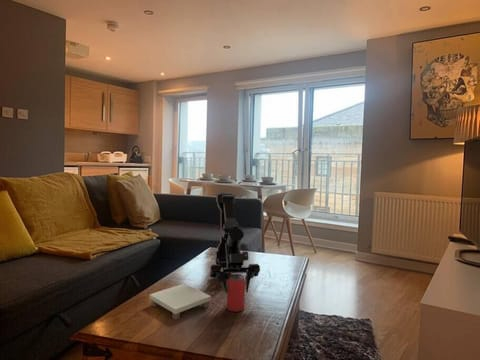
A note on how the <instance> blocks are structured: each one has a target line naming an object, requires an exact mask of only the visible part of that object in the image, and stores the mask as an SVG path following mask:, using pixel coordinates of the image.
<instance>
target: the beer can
mask: <svg viewBox="0 0 480 360" xmlns="http://www.w3.org/2000/svg"><path fill="white" fill-rule="evenodd" d="M232 274H233V275H230V276H229V277H228V280H227V284H226V286H227V293H226V309H227V310H229V312H241V311H243V310H244V308H245V300H246V297H245V296H246V286H245V276H244V275H242V274H241V273H232Z"/></svg>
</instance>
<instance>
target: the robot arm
mask: <svg viewBox="0 0 480 360" xmlns="http://www.w3.org/2000/svg"><path fill="white" fill-rule="evenodd" d="M215 200H216V201H215V202H216V204H217V205H216V206H217V207H218V209H219V211H220V242H219V244H218V246H217V247H216V250H215V255H214V263H215V264H211V265H210V268H209V277H210V279H211V278H212V279H213V278H214V279H215V280H218V282H219V283H220V285H221V287H222V288H223V291H224V293H225V294H227V282H226V279H227V278H229V276H230V275H233V274H245V276H244V279H245V294H246V293H248V292H249V287H250V282H251V279H254V277H258V276H259V274H260V272H261V266H260V265H259V264H258V263H249V264H248V266H246V267H243V266H244V263H245V261H246V262H247V261H249V251H242V253H241V246H242V242H243V241H244V236H245V234H244V231H243V230H242V229H241V228H240V224H239V222H238V221H237V220H236V216H235V209H234V204H235V203H236V195H234V194H233V193H232V192H218V194H216V196H215Z"/></svg>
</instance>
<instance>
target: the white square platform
mask: <svg viewBox="0 0 480 360" xmlns="http://www.w3.org/2000/svg"><path fill="white" fill-rule="evenodd" d="M148 297H149V299H148V300H151V306H152V307H154V308H155V307H157V306H158V307H159V306H161V307H162V308H165V310H168V311H170V312H171V313H172V315H171V318H172V319H174V320H179V319H180V318H181V317H180V315H181V313H182V312H185V311H187V310H190V309H192V308H195V307H197V306H201V307H202V308H204V309H206V308H208V307H209V302H210V301H212V296H211V295H209V294H207V293H206V292H203V291H201V290H199V289H196V288H195V287H192V286H190V285H189V284H187V283H182V284H180V285H176V286H172V287H169V288H165V289H163V290H160V291H159V290H158V291H155V292H153V293H150V294H149V296H148Z"/></svg>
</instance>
